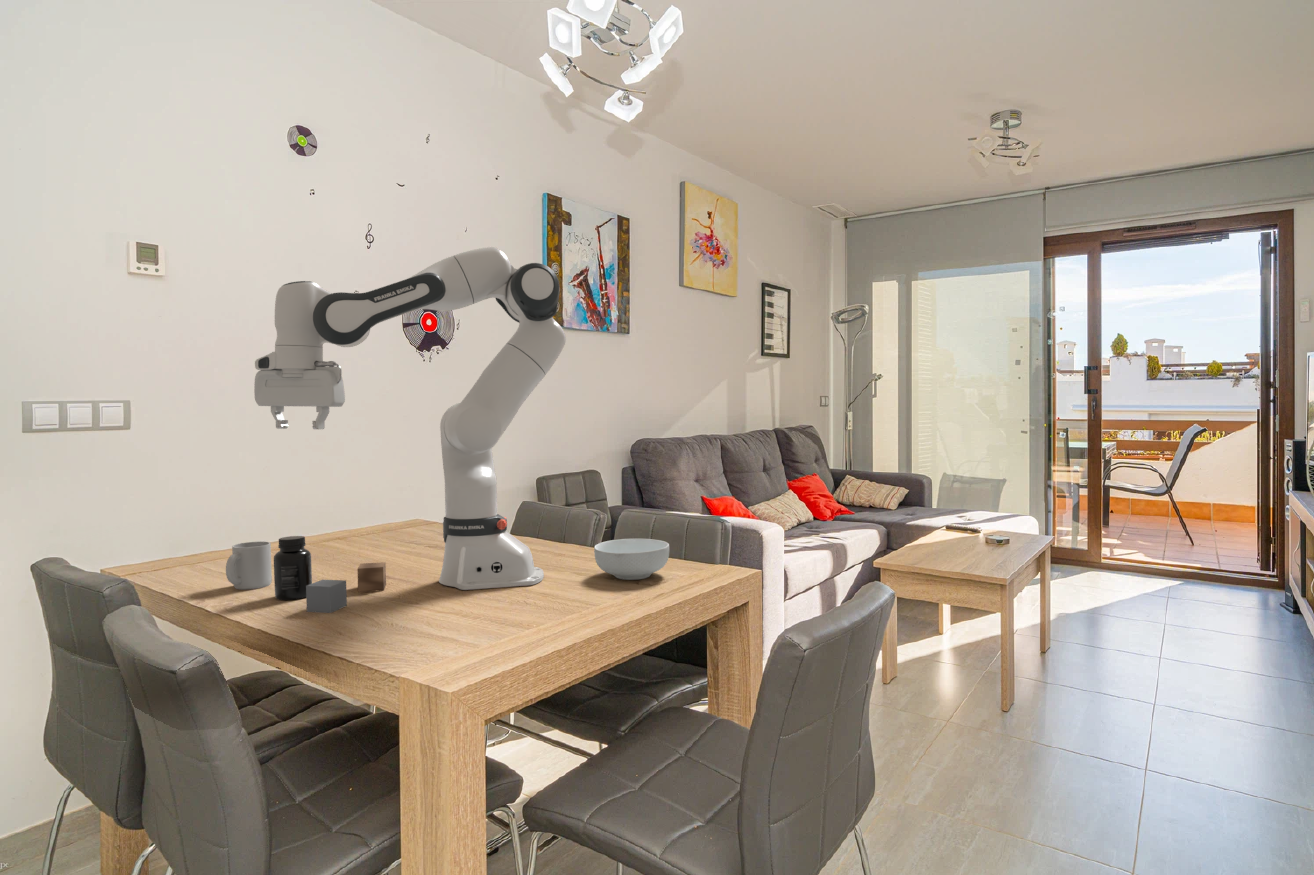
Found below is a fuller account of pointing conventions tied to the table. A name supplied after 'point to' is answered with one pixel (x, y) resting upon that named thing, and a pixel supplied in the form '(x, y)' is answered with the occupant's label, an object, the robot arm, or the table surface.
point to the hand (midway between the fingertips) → (300, 429)
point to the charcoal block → (326, 596)
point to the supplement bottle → (292, 568)
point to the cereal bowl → (631, 557)
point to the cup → (250, 565)
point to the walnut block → (371, 577)
